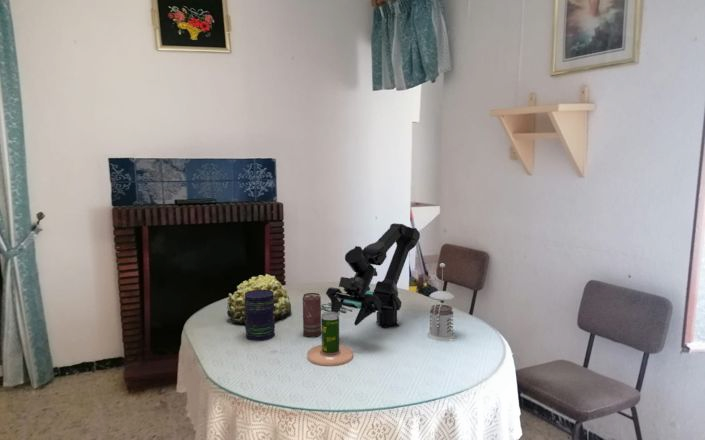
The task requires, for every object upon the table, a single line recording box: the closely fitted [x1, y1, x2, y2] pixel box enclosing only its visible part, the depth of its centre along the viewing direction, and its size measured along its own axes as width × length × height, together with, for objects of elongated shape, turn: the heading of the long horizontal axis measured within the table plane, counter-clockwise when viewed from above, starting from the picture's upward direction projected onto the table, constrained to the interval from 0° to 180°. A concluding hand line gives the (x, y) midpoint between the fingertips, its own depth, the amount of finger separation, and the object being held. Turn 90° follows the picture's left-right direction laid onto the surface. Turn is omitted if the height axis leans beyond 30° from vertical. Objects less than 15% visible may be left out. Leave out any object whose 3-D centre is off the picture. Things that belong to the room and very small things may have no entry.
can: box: [302, 292, 322, 338], centre depth 169 cm, size 6×6×14 cm
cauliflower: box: [226, 273, 293, 325], centre depth 189 cm, size 25×24×16 cm
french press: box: [426, 262, 457, 341], centre depth 166 cm, size 10×12×25 cm
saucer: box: [306, 344, 354, 367], centre depth 151 cm, size 14×14×1 cm
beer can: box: [321, 311, 340, 355], centre depth 151 cm, size 5×5×12 cm
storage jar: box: [244, 289, 276, 342], centre depth 168 cm, size 10×10×15 cm
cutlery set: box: [321, 290, 374, 316], centre depth 205 cm, size 20×30×2 cm, turn 132°
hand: (343, 322), depth 156 cm, fingers open, 9 cm apart
